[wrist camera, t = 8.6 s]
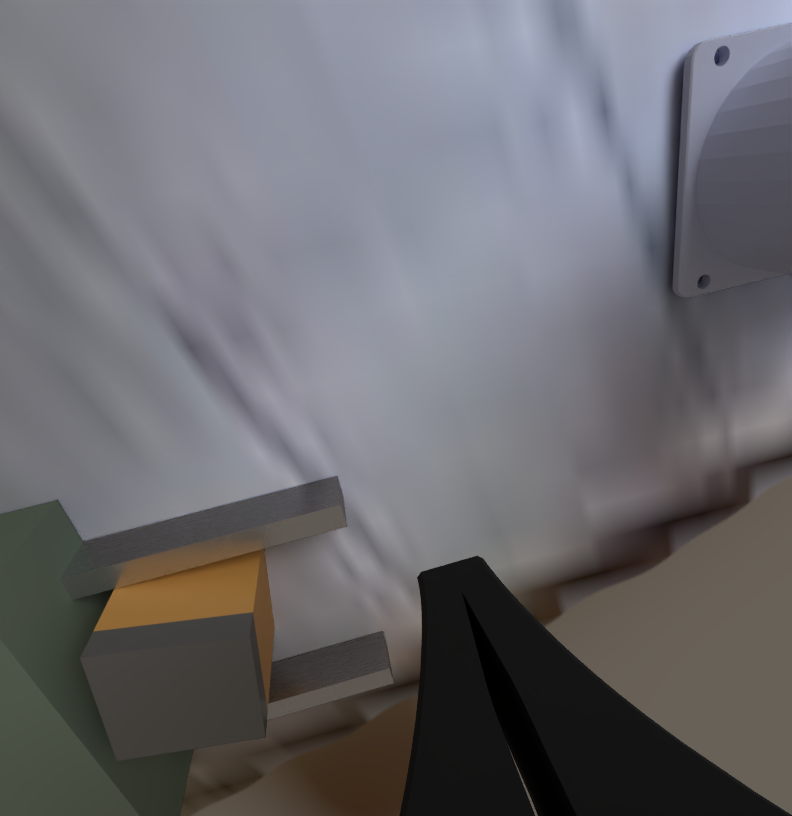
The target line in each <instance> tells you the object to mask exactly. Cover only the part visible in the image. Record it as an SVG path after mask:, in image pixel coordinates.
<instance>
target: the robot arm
mask: <svg viewBox="0 0 792 816" xmlns="http://www.w3.org/2000/svg"><path fill="white" fill-rule="evenodd" d="M716 51H718V52H719V54H720V60H719V63H718V64H717V65H716V64H715V62H714V56H715V52H716ZM784 274H790V275H792V23H788V24H783V25H778V26H773V27H768V28H764V29H759V30H754V31H749V32H744V33H739V34H734V35H729V36H724V37H719V38H715V39H710V40H706V41H703V42H701V43H699V44H696V45H694V46H693V47H692V48H691V49H690V50H689V52H688V54H687V56H686V58H685V63H684V77H683V96H682V115H681V134H680V153H679V172H678V191H677V210H676V229H675V248H674V267H673V291H674V293H675V294H676V295H678V296H680V297H684V298H691V297H695V296H699V295H703V294H707V293H711V292H715V291H719V290H723V289H727V288H731V287H735V286H739V285H743V284H748V283H752V282H756V281H760V280H764V279H768V278H772V277H776V276H780V275H784ZM701 276H702V277H703V279H702V282H701V283H700V285H699V286H698V285H697V282H698V279H699V278H700V277H701ZM417 579H418V583H419V588H420V596H421V607H422V648H421V671H420V682H419V692H418V702H417V712H416V722H415V729H414V736H413V743H412V750H411V756H410V762H409V769H408V774H407V780H406V786H405V791H404V796H403V801H402V806H401V811H400V816H535V815H534V811H533V809H532V806H531V804H530V801H529V799H528V796H527V794H526V791H525V788H524V786H523V783H522V781H521V778H520V776H519V773H518V770H517V768H516V766H515V763H514V760H515V762H516V765H517V767H518V769H519V771H520V774H521V776H522V778H523V781H524V783H525V785H526V787H527V790H528V792H529V795H530V797H531V799H532V802H533V804H534V807H535V809H536V812H537V814H538V816H792V815H791V814H789V813H788V812H786V811H784V810H783V809H781V808H780V807H778V806H777V805H775V804H773V803H772V802H770V801H769V800H767V799H765V798H764V797H762V796H761V795H759V794H758V793H756V792H754V791H753V790H751V789H750V788H748V787H747V786H746V785H744V784H743V783H741V782H740V781H738V780H737V779H735V778H734V777H732V776H731V775H729V774H728V773H727V772H725V771H723V770H722V769H721V768H719V767H718V766H716V765H715V764H713V763H712V762H710V761H709V760H707V759H706V758H705V757H703V756H701V755H700V754H698V753H697V752H696V751H694V750H693V749H691V748H690V747H688V746H687V745H685V744H684V743H683V742H681V741H680V740H679V739H677V738H676V737H674V736H673V735H672V734H670V733H669V732H668V731H666V730H665V729H664V728H662V727H661V726H660V725H658V724H657V723H655V722H654V721H653V720H652V719H650V718H649V717H648V716H646V715H645V714H644V713H642V712H641V711H640V710H639V709H637V708H636V707H635V706H633V705H632V704H631V703H630V702H628V701H627V700H626V699H625V698H623V697H622V696H621V695H619V694H618V693H617V692H616V691H615V690H614V689H612V688H611V687H610V686H609V685H607V684H606V683H605V682H604V681H603V680H602V679H600V678H599V677H598V676H597V675H596V674H594V673H593V672H592V671H591V670H590V669H588V667H586V666H585V665H584V664H583V663H582V662H581V661H580V660H578V659H577V658H576V657H575V656H574V655H573V654H572V653H571V652H570V651H569V650H567V649H566V648H565V647H564V646H563V645H562V644H561V643H560V642H559V641H558V640H557V639H556V638H555V637H554V636H553V635H552V634H551V633H550V632H549V631H548V630H546V628H545V627H544V626H543V625H542V624H540V623H539V622H538V621H537V620H536V619H535V618H534V617H533V616H532V615H531V614H530V613H529V612H528V610H527V609H526V608H525V607H524V606H523V605H522V604H521V603H520V602H519V601H518V600H517V599H516V598H515V597H514V595H513V594H512V593H511V592H510V591H509V590H508V589H507V588H506V587H505V585H504V584H503V583H502V582H501V581H500V580H499V578H498V577H497V576H496V575H495V574H494V572H493V571H492V570H491V568H490V567H489V566H488V565H487V563H486V562H485V560H484V559H483V558H481V557H479V556H475V557H471V558H468V559H465V560H461V561H458V562H454V563H451V564H447V565H444V566H440V567H437V568H433V569H430V570H426V571H423V572H421V573H420V575H419V576H418V577H417ZM506 741H507V742H506ZM508 746H509V747H508ZM509 748H510V750H509ZM510 751H511V752H510ZM511 753H512V755H513V758H514V760H513V758H512V755H511Z"/></svg>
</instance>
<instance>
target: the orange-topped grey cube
mask: <svg viewBox="0 0 792 816" xmlns="http://www.w3.org/2000/svg"><path fill="white" fill-rule="evenodd" d="M273 639H274V620H273V613H272V605H271V597H270V589H269V582H268V574H267V566H266V559H265V551H264V549H261V550H257V551H254V552H250V553H246V554H242V555H239V556H235V557H231V558H227V559H224V560H220V561H216V562H213V563H209V564H205V565H201V566H198V567H194V568H190V569H186V570H183V571H179V572H175V573H171V574H168V575H164V576H160V577H156V578H153V579H149V580H145V581H142V582H138V583H134V584H130V585H127V586H123V587H119V588H115V589H114V591H113V593H112V595H111V597H110V599H109V601H108V603H107V605H106V607H105V609H104V611H103V613H102V615H101V617H100V619H99V621H98V623H97V625H96V627H95V629H94V631H93V633H92V635H91V637H90V639H89V641H88V643H87V645H86V647H85V649H84V651H83V653H82V655H81V657H80V660H81V663H82V665H83V668H84V671H85V674H86V677H87V679H88V682H89V685H90V688H91V691H92V693H93V696H94V699H95V702H96V704H97V707H98V710H99V713H100V716H101V718H102V721H103V724H104V727H105V730H106V732H107V735H108V738H109V741H110V743H111V746H112V749H113V752H114V755H115V757H116V760H117V761H121V760H127V759H134V758H140V757H146V756H153V755H159V754H165V753H171V752H178V751H184V750H190V749H196V748H203V747H209V746H215V745H221V744H228V743H234V742H240V741H246V740H253V739H259V738H265V737H266V727H267V714H268V702H269V689H270V676H271V664H272V651H273Z"/></svg>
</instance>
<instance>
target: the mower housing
mask: <svg viewBox="0 0 792 816" xmlns="http://www.w3.org/2000/svg"><path fill="white" fill-rule="evenodd" d="M343 527H347V522H346V514H345V506H344V498H343V493H342V490H341V487H340V483H339V480H338V476H335V477H331V478H328V479H324V480H320V481H316V482H312V483H308V484H304V485H301V486H297V487H293V488H289V489H285V490H281V491H277V492H274V493H270V494H266V495H262V496H258V497H254V498H250V499H247V500H243V501H239V502H235V503H231V504H227V505H223V506H220V507H216V508H212V509H208V510H204V511H200V512H196V513H193V514H189V515H185V516H181V517H177V518H173V519H170V520H166V521H162V522H158V523H154V524H150V525H146V526H143V527H139V528H135V529H131V530H127V531H123V532H119V533H116V534H112V535H108V536H104V537H100V538H96V539H92V540H89V541H85V542H83V541H82V539H81V537H80V536H79V534H78V533H77V531H76V529H75V528H74V526H73V524H72V523H71V521H70V519H69V518H68V516H67V514H66V513H65V511H64V509H63V508H62V506H61V504H60V503H59V501H58V500H56V501H52V502H48V503H44V504H40V505H36V506H32V507H28V508H24V509H20V510H16V511H12V512H8V513H4V514H0V816H180V812H181V808H182V803H183V798H184V793H185V788H186V783H187V778H188V773H189V769H190V764H191V759H192V754H193V749H190V750H184V751H178V752H171V753H165V754H159V755H153V756H146V757H140V758H134V759H127V760H121V761H117V760H116V757H115V755H114V752H113V749H112V746H111V743H110V741H109V738H108V735H107V732H106V730H105V727H104V724H103V721H102V718H101V716H100V713H99V710H98V707H97V704H96V702H95V699H94V696H93V693H92V691H91V688H90V685H89V682H88V679H87V677H86V674H85V671H84V668H83V665H82V663H81V660H80V657H81V655H82V653H83V651H84V649H85V647H86V645H87V643H88V641H89V639H90V637H91V635H92V633H93V631H94V629H95V627H96V625H97V623H98V621H99V619H100V617H101V615H102V613H103V611H104V609H105V607H106V605H107V603H108V601H109V599H110V597H111V595H112V593H113V590H112V589H115V588H119V587H123V586H127V585H130V584H134V583H138V582H142V581H145V580H149V579H153V578H156V577H160V576H164V575H168V574H171V573H175V572H179V571H183V570H186V569H190V568H194V567H198V566H201V565H205V564H209V563H213V562H216V561H220V560H224V559H227V558H231V557H235V556H239V555H242V554H246V553H250V552H254V551H257V550H261V549H265V548H269V547H272V546H276V545H280V544H284V543H287V542H291V541H295V540H298V539H302V538H306V537H310V536H313V535H317V534H321V533H325V532H328V531H332V530H336V529H340V528H343ZM392 683H394V681H393V675H392V670H391V664H390V659H389V653H388V647H387V643H386V640H385V636H384V633H383V632H379V633H376V634H372V635H369V636H365V637H362V638H358V639H355V640H351V641H348V642H344V643H341V644H337V645H334V646H330V647H327V648H323V649H320V650H316V651H313V652H309V653H306V654H302V655H299V656H295V657H292V658H288V659H285V660H281V661H278V662H274V663H272V664H271V676H270V689H269V702H268V714H267V720H270V719H273V718H276V717H280V716H283V715H287V714H290V713H293V712H297V711H300V710H304V709H307V708H310V707H314V706H317V705H321V704H324V703H327V702H331V701H334V700H338V699H341V698H344V697H348V696H351V695H355V694H358V693H361V692H365V691H368V690H372V689H375V688H379V687H382V686H385V685H389V684H392Z"/></svg>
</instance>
